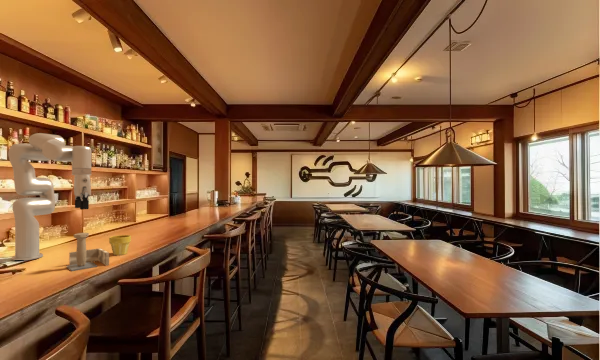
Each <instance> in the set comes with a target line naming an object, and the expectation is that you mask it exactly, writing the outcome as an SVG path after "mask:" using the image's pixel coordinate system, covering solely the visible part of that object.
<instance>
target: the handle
mask: <svg viewBox="0 0 600 360" xmlns="http://www.w3.org/2000/svg"><path fill="white" fill-rule="evenodd" d="M89 233H90V232H78V233H75V234H73V238H75V239H76V251H75V252H76V259H77V263H78V264H77V265H78V266H84V265H85V263H86V250H87V242H86V241H87V239H86V238H87V237H89V235H90V234H89Z"/></svg>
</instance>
